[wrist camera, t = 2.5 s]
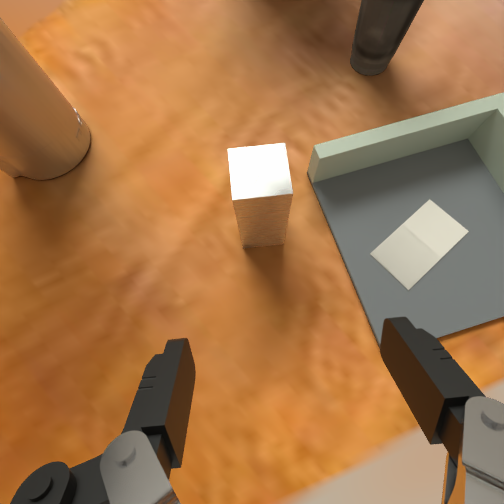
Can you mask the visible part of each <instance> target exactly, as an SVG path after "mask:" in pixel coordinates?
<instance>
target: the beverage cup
mask: <svg viewBox="0 0 504 504" xmlns="http://www.w3.org/2000/svg"><path fill="white" fill-rule="evenodd" d="M423 1H424V0H362V1H361V6H360V11H359V16H358V21H357V26H356V30H355V35H354V40H353V45H352V55H351V58H350V63H351V66H352V67H353V68H354V70H355V71H357V72H359V73H360V74H364V75H377V74H379V73H381V72H383V71H384V70H385V69H386V67H387V65H388V63H389V62H390V60H391V59H392V57H393V56H394V54H395V52H396V50H397V49H398V47H399V45H400V43H401V41H402V39H403V38H404V36H405V34H406V32H407V30H408V28H409V27H410V25H411V23H412V21H413V19H414V17H415V16H416V14H417V12H418V10H419V8H420V6H421V5H422V3H423Z"/></svg>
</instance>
